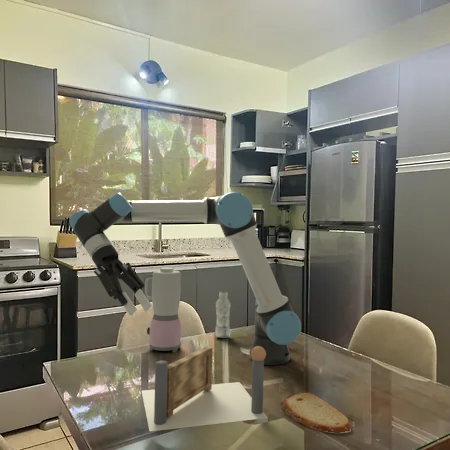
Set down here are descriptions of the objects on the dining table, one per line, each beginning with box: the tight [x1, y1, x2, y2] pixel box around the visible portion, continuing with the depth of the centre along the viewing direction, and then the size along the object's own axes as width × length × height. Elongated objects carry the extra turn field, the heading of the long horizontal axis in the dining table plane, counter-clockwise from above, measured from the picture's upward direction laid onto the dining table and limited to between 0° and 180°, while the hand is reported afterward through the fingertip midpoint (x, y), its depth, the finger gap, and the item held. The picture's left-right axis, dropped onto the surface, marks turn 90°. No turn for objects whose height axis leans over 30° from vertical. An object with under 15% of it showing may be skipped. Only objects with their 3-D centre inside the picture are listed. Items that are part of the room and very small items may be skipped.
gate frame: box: [141, 346, 269, 432], centre depth 114 cm, size 30×24×18 cm
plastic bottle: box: [214, 291, 231, 339], centre depth 182 cm, size 6×7×20 cm
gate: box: [166, 345, 213, 418], centre depth 114 cm, size 21×2×12 cm, turn 151°
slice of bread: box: [281, 392, 352, 433], centre depth 112 cm, size 18×18×4 cm
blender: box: [142, 267, 183, 354], centre depth 165 cm, size 16×12×32 cm
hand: (141, 310), depth 123 cm, fingers open, 6 cm apart
